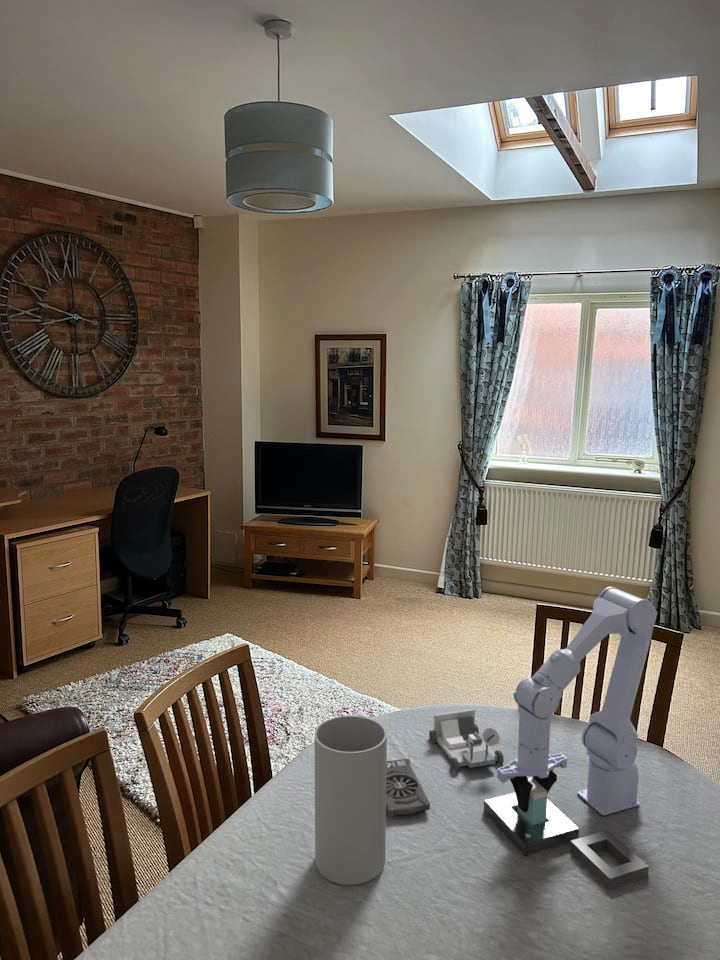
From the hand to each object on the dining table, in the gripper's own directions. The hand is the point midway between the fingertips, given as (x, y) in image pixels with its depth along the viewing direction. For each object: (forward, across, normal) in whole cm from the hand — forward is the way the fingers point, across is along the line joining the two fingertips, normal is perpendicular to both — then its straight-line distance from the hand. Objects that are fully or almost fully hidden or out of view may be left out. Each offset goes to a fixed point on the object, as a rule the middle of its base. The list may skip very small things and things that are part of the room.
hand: (530, 807), depth 139 cm
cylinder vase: (+4, -36, +3) cm, 36 cm away
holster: (+4, +7, -14) cm, 16 cm away
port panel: (+4, 0, 0) cm, 4 cm away
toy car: (+5, +2, +27) cm, 27 cm away
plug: (+3, 0, 0) cm, 3 cm away
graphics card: (+5, -20, +19) cm, 28 cm away
